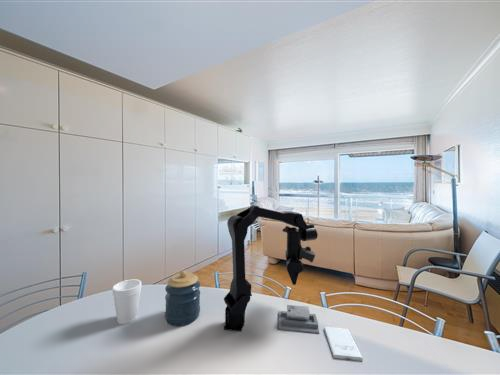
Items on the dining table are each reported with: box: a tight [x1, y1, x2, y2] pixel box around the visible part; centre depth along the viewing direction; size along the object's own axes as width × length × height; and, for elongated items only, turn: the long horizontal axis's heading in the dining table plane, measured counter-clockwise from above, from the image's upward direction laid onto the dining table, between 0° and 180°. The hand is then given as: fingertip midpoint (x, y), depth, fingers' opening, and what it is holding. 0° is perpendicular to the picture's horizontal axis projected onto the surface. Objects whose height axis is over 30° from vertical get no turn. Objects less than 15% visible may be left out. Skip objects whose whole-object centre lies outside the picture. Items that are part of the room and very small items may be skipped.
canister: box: [164, 270, 201, 327], centre depth 81 cm, size 13×13×18 cm
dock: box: [278, 310, 320, 334], centre depth 78 cm, size 14×10×2 cm
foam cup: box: [112, 278, 143, 325], centre depth 79 cm, size 10×9×13 cm
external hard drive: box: [323, 326, 364, 362], centre depth 68 cm, size 2×8×12 cm
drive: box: [286, 304, 310, 322], centre depth 78 cm, size 8×2×5 cm, turn 82°
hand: (293, 279), depth 87 cm, fingers open, 9 cm apart
